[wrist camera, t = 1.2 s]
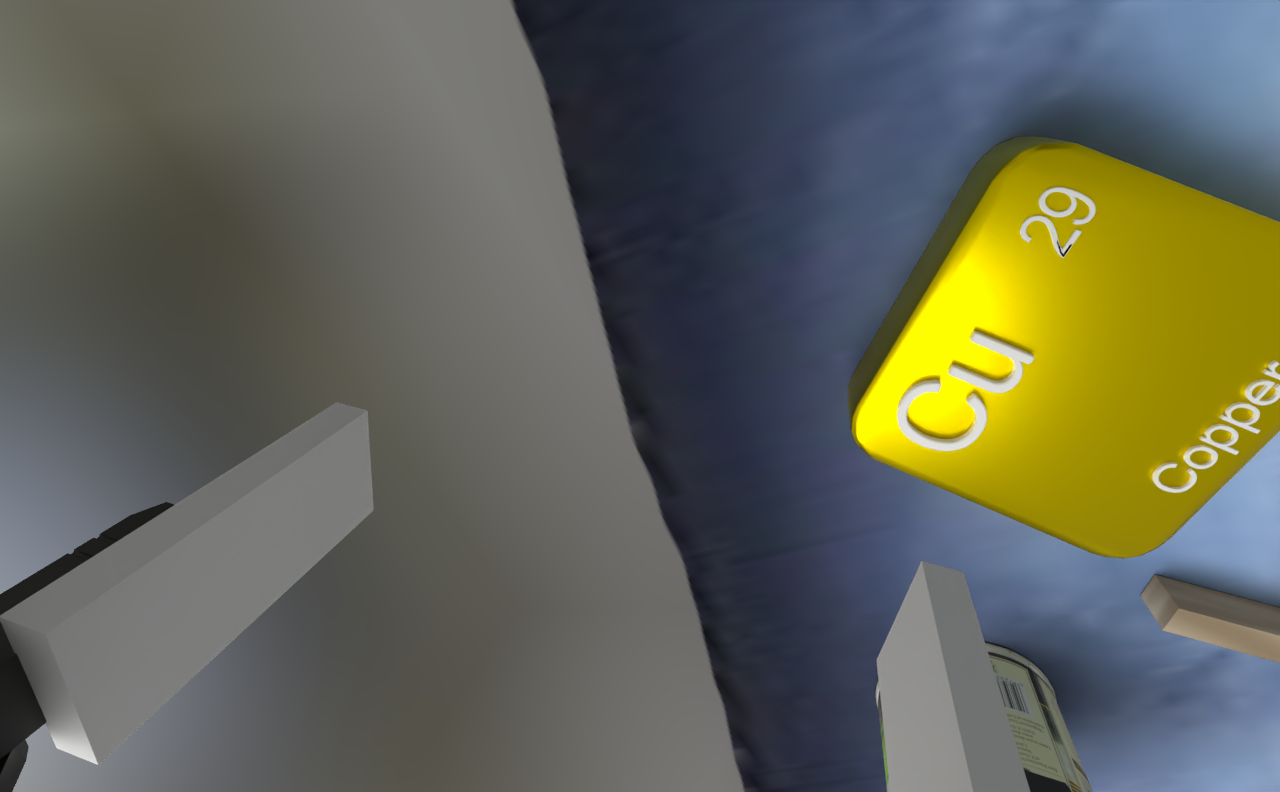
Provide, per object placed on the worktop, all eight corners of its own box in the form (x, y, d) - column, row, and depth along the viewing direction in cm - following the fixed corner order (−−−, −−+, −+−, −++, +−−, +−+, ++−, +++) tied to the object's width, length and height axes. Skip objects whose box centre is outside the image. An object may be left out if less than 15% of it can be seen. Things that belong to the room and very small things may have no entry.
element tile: (1100, 521, 33) (1142, 583, 29) (832, 405, 34) (834, 449, 30) (1348, 255, 26) (1450, 286, 22) (998, 119, 27) (1031, 123, 23)
